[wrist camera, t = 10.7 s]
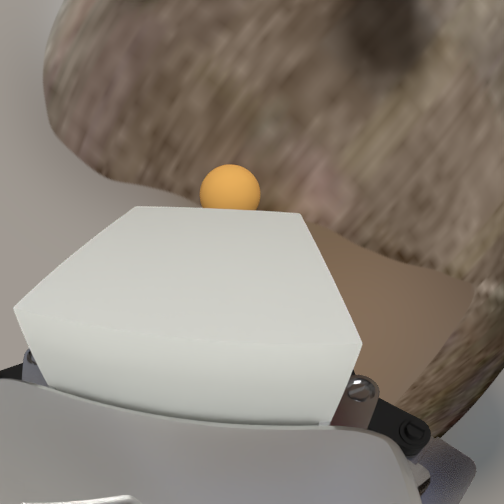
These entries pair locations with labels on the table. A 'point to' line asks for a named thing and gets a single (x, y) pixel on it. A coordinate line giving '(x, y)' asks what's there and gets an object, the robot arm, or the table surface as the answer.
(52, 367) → the white angular block
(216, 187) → the ball
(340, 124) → the table surface
